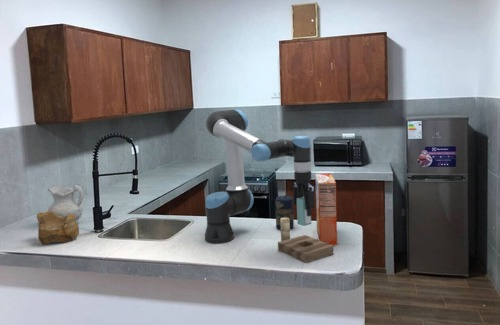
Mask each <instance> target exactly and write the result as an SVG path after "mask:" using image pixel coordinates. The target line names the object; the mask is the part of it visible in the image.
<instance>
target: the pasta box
mask: <svg viewBox="0 0 500 325" xmlns="http://www.w3.org/2000/svg"><path fill="white" fill-rule="evenodd" d="M334 178H335V177H333V174H332V173H315V205H316V208H315V209H316V211H315V212H316V213H315V214H316V233H317V236H318V237H317V238H318V240H319V241H322V242H325V243H327V244H330V245H332V246H334V245H335V246H337V245H338V226H337V225H338V222H337V221H338V218H337V182H336V180H335V179H334Z"/></svg>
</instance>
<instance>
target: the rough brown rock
mask: <svg viewBox="0 0 500 325" xmlns="http://www.w3.org/2000/svg"><path fill="white" fill-rule="evenodd" d="M36 219H37V222H38V225H37V226H38V232H37V233H38V235H37V236H38V239H39V241H40V244H41V245H47V244H49V243H54V242H56V243H58V242H59V243H69V242H70V241H73V240H75V239H76V238H77V237H78V236H79V234H80V229H79V223H78V222H77V221H76V219H75V215H73V214H68V215H67V216H65V217H61V216H58V215H56V214H55V213H54V212H53V211H48V210H47V211H45V212H39V213H37V214H36ZM76 222H77V223H78V224H77V223H76Z"/></svg>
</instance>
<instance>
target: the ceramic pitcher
mask: <svg viewBox="0 0 500 325" xmlns="http://www.w3.org/2000/svg"><path fill="white" fill-rule="evenodd" d="M47 191H48V192H49V193H50V194H51V196H52V199H53V203H52V204H51V205H50V206H49V207H48V209H47V211H53V212H54V213H55V214H56V215H58V216H61V217H65V216H67V215H68V214H73V215H75V219H76V223H77V224H78V225H79V222H78V220H79V219H80V218H81V217H82V216H83V208H84V207H83V205H82V203H83V199H84V191H83V189H82V187H81V185H80V184H73V188H72V187H69V186H67V187H63V185H61V184H59V185H58V184H53V185H52V186H51V187H49V188H47ZM76 191H77V192H78V193H79V196H78V200H76V199H75V193H76Z"/></svg>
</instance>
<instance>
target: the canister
mask: <svg viewBox="0 0 500 325" xmlns="http://www.w3.org/2000/svg"><path fill="white" fill-rule="evenodd" d="M274 203H275V204H274V206H275V226H276V228H277V229H279V230H281V220H280V219H281V218H289V219H290V230H291V229H292V228H294V226H295V225H294V224H295V221H294V220H295V219H294V218H295V217H294V201H293V197H292V196H290V195H287V194H286V195H279V196H277V197H275V201H274Z"/></svg>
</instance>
